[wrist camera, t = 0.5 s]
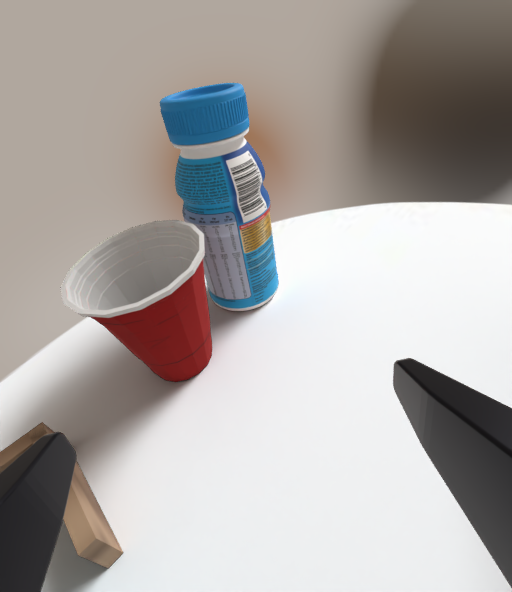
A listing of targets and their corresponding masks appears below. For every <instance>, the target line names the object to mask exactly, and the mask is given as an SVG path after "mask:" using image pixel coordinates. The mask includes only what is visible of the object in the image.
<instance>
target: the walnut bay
mask: <svg viewBox="0 0 512 592" xmlns="http://www.w3.org/2000/svg"><path fill="white" fill-rule="evenodd" d="M51 433H55V432H53V431H52V430H51V429H50V428H49V427H47V426H46V425H45V424H44V423H43V422H42V423H40V424H39V425H38V426H36V427H35V428H33V429H32V430H31V431H29V432H28V433H26V434H25V435H24V436H22V437H21V438H19V439H18V440H17V441H15V442H14V443H12V444H11V445H10V446H8V447H7V448H5V449H4V450H3V451H1V452H0V473H1V472H2V471H3V470H4V469H6V468H7V467H8V466H9V465H10V464H11V463H12V462H14V461H15V460H16V459H17V458H18V457H19V456H20V455H21V454H23V453H24V452H25V451H26V450H27V449H28V448H29V447H31V446H32V445H33V444H34V443H35V442H36V441H37V440H38V439H40V438H41V437H42V436H44V435H46V434H51ZM63 520H64V522H65V524H66V527H67V529H68V532H69V534H70V537H71V539H72V542H73V544H74V547H75V549H76V551H77V554H78V556H80V557H83V558H85V559H87V560H90V561H92V562H94V563H97V564H99V565H102V566H104V567H106V568H109V567H110V566H111V565H112V564H113V563H114V562H115V561H116V560H117V559H118V558H119V557H120V556H121V555H122V554H123V551H122V549H121V547H120V545H119V543H118V541H117V539H116V537H115V535H114V533H113V531H112V529H111V528H110V526H109V524H108V522H107V520H106V518H105V516H104V514H103V512H102V510H101V508H100V506H99V504H98V502H97V500H96V498H95V496H94V494H93V492H92V490H91V488H90V486H89V484H88V482H87V480H86V478H85V477H84V475H83V473H82V471H81V469H80V467H79V465H78V463H77V461H76V463H75V468H74V473H73V477H72V482H71V486H70V491H69V495H68V500H67V505H66V509H65V513H64V517H63Z"/></svg>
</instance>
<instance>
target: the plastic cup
mask: <svg viewBox="0 0 512 592" xmlns="http://www.w3.org/2000/svg"><path fill="white" fill-rule="evenodd" d="M204 255H205V248H204V234H203V233H202V232H201V231H200V230H199V229H198V228H197V227H196V226H195V225H194V224H191V223H187V222H183V221H179V220H167V221H154V222H151V223H147V224H143V225H139V226H135V227H132V228H129V229H127V230H125V231H123V232H120V233H118V234H116V235H114V236H112V237H109V238H107V239H106V240H105V241H103V242H102V243H100V244H98V245H97V246H96V247H94V248H93V249H91V250H90V251H88V252H87V253H86V254H84V255H83V257H82V258H81V259H80V260H79V261H78V262H77V263H76V264H75V265H74V266H73V267H72V268H71V269H70V270H69V272H68V274H67V276H66V278H65V280H64V282H63V284H62V286H61V294H62V301H63V304H65V305H66V306H68V307H69V308H71V309H72V310H74V311H75V312H77V313H78V314H80V315H81V316H86V317H91V318H93V319H95V320H96V321H97V322H99V323H100V324H102V325H103V326H105V327H106V328H107V329H108V330H109V331H110V332H111V333H112V334H113V335H114V336H115V337H116V338H117V339H118V340H119V341H120V342H122V343H123V344H124V345H125V346H126V347H127V348H128V349H129V350H130V351H131V352H132V353H133V354H134V355H135V356H136V357H138V358H139V359H140V360H142V361H143V362H144V363H145V364H146V365H147V366H148V367H149V368H150V369H151V370H152V371H153V372H154V373H155V374H157V375H158V376H160V377H161V378H163V379H164V380H167V381H174V382H178V381H183V380H188V379H190V378H192V377H193V376H195V375H197V374H199V373H200V372H201V371H202V370H203V369H204V368H205V367H206V366H207V365H208V362H209V360H210V358H211V356H212V340H211V332H210V317H209V309H208V302H207V295H206V287H205V280H204V267H203V257H204Z"/></svg>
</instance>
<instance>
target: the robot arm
mask: <svg viewBox="0 0 512 592" xmlns="http://www.w3.org/2000/svg"><path fill="white" fill-rule="evenodd" d="M393 386H394V390H395V392H396V395H397V397H398V399H399V401H400V403H401V405H402V407H403V409H404V411H405V413H406V415H407V417H408V419H409V421H410V423H411V425H412V427H413V429H414V431H415V433H416V435H417V437H418V439H419V441H420V443H421V444H422V446H423V448H424V450H425V451H426V453H427V455H428V456H429V458H430V459H431V461H432V463H433V464H434V466H435V467H436V469H437V471H438V472H439V474H440V475H441V477H442V478H443V480H444V482H445V483H446V485H447V486H448V488H449V490H450V491H451V493H452V494H453V496H454V497H455V499H456V501H457V502H458V504H459V505H460V507H461V509H462V510H463V512H464V513H465V515H466V516H467V518H468V520H469V521H470V523H471V524H472V526H473V528H474V529H475V531H476V532H477V534H478V535H479V537H480V539H481V540H482V542H483V543H484V545H485V546H486V548H487V550H488V551H489V553H490V554H491V556H492V558H493V559H494V561H495V562H496V564H497V565H498V567H499V569H500V570H501V572H502V573H503V575H504V577H505V578H506V580H507V581H508V583H509V584H510V586H511V588H512V408H510V407H508V406H506V405H504V404H502V403H500V402H498V401H496V400H494V399H492V398H490V397H488V396H486V395H484V394H482V393H480V392H478V391H476V390H474V389H472V388H470V387H468V386H466V385H464V384H462V383H460V382H458V381H456V380H454V379H452V378H450V377H448V376H446V375H444V374H442V373H440V372H438V371H436V370H434V369H432V368H430V367H428V366H426V365H424V364H422V363H420V362H418V361H416V360H414V359H411V358H407V359H402V360H397V361H396V362H395V363H394V375H393ZM75 463H76V452H75V450H74V448H73V447H72V446H71V444H70V443H69V441H68V440H67V438H66V437H65V435H64V434H63V433H61V432H56V433H51V434H46V435H44V436H42V437H41V438H40V439H38V440H37V441H36V442H35V443H34V444H33V445H32V446H31V447H29V448H28V449H27V450H26V451H25V452H24V453H23V454H21V455H20V456H19V457H18V458H17V459H16V460H15V461H14V462H12V463H11V464H10V465H9V466H8V467H7V468H6V469H4V470H3V471H2V472H1V473H0V592H41V589H42V586H43V583H44V580H45V576H46V573H47V570H48V567H49V564H50V561H51V557H52V554H53V551H54V548H55V545H56V542H57V538H58V535H59V532H60V529H61V525H62V521H63V517H64V513H65V509H66V505H67V500H68V495H69V491H70V486H71V482H72V477H73V473H74V468H75Z"/></svg>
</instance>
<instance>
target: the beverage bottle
mask: <svg viewBox="0 0 512 592" xmlns="http://www.w3.org/2000/svg"><path fill="white" fill-rule="evenodd" d="M160 106H161V113H162V117H163V120H164V123H165V126H166V130H167V132H168V136H169V139H170V141H171V142H172V144H173V146H174V147H175V148H179V149H181V153H180V156H179V159H178V163H177V167H176V176H175V185H176V191H177V193H178V195H179V196H180V197H181V198H182V199H183V201H184V204H183V217H184V220H185V222H187V223H191V224H194V225H195V226H196V227H197V228H198V229H199V230H200V231H201V232H202V233H203V234H204V248H205V255H204V257H203V267H204V274H205V277H206V281H207V285H208V290H209V293H210V296H211V298H212V300H213V301H214V303H215V304H217V305H218V306H219V307H221V308H224V309H226V310H231V311H246V310H251V309H254V308H257V307H259V306H261V305H263V304H265V303H266V302H268V301H269V300H270V299H271V298H272V297H273V296H274V295H275V293H276V291H277V289H278V284H279V281H278V274H277V270H276V261H275V253H274V245H273V236H272V228H271V219H270V199H269V195H268V192H267V190H266V189H265V188H264V186H263V181H264V178H265V171H264V167H263V165H262V162H261V160H260V158H259V157H258V155H257V153H256V152H255V151H254V149H253V148H252V147H251V145H250V144H249V143H248V142H247V141H246V140H245V139H244V137H243V136H244V135H246V134H247V132H248V131H249V118H248V109H247V102H246V95H245V93H244V89H243V86H242V85H241V84H238V83H224V84H216V85H209V86H204V87H199V88H194V89H189V90H185V91H182V92H178V93H175V94H172V95H169V96H167V97H165V98H163V99H162V100H161V101H160Z"/></svg>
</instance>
